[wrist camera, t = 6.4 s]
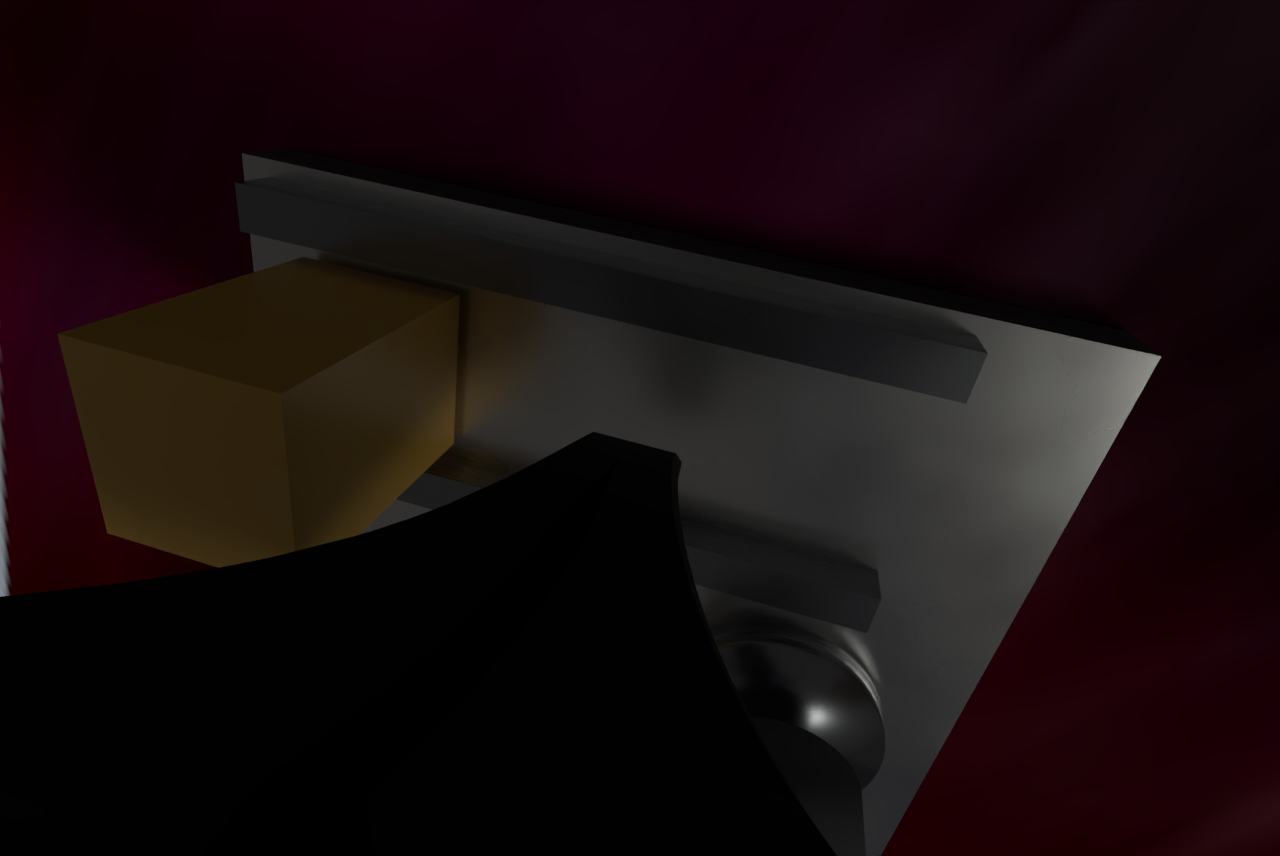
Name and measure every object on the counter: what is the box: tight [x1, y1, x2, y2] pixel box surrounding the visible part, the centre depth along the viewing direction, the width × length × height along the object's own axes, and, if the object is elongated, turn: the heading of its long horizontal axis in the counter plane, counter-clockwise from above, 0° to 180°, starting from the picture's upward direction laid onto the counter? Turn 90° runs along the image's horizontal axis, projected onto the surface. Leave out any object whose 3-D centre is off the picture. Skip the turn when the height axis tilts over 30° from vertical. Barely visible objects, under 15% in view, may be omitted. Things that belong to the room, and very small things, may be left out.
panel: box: [235, 149, 1161, 856], centre depth 14 cm, size 15×18×6 cm
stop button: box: [751, 716, 866, 856], centre depth 12 cm, size 4×4×2 cm
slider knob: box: [58, 257, 460, 568], centre depth 11 cm, size 3×3×4 cm
